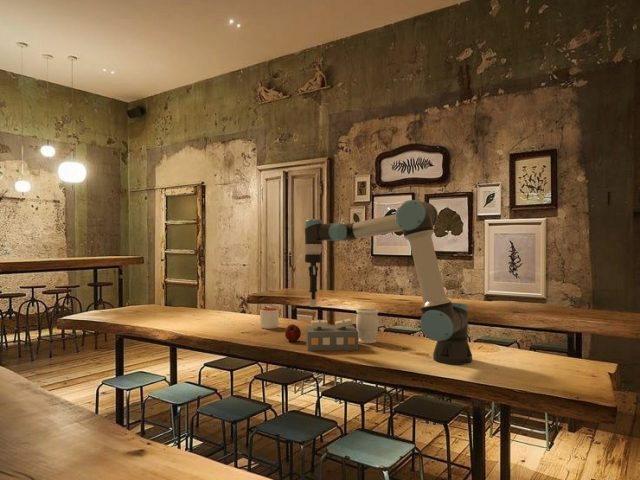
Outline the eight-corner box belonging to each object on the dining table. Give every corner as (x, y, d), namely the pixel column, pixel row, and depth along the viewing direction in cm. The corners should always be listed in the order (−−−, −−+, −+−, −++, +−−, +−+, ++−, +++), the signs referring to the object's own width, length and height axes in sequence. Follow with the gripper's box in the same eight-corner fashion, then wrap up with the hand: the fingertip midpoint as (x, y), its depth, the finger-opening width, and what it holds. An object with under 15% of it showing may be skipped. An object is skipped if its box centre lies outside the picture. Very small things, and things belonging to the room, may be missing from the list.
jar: (382, 341, 223) (383, 310, 223) (369, 345, 216) (369, 312, 216) (365, 338, 230) (365, 307, 230) (351, 341, 223) (351, 310, 223)
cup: (282, 327, 261) (282, 309, 261) (270, 330, 252) (270, 311, 252) (267, 325, 266) (268, 307, 266) (256, 328, 257) (256, 309, 257)
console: (358, 350, 206) (358, 329, 206) (307, 350, 204) (307, 329, 204) (353, 343, 220) (353, 323, 220) (306, 343, 219) (306, 323, 219)
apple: (282, 342, 222) (282, 325, 222) (289, 339, 229) (289, 322, 229) (296, 343, 219) (296, 326, 219) (303, 340, 226) (303, 323, 226)
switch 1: (327, 326, 210) (327, 320, 210) (311, 327, 209) (311, 321, 209) (326, 324, 215) (326, 319, 215) (311, 325, 214) (311, 319, 214)
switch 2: (352, 324, 211) (351, 319, 211) (337, 328, 210) (336, 322, 210) (350, 322, 216) (349, 317, 216) (335, 326, 215) (334, 320, 215)
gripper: (322, 254, 206) (322, 308, 206) (320, 253, 219) (320, 304, 219) (305, 254, 205) (305, 308, 205) (304, 253, 218) (304, 304, 218)
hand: (313, 306), depth 212 cm, fingers closed
